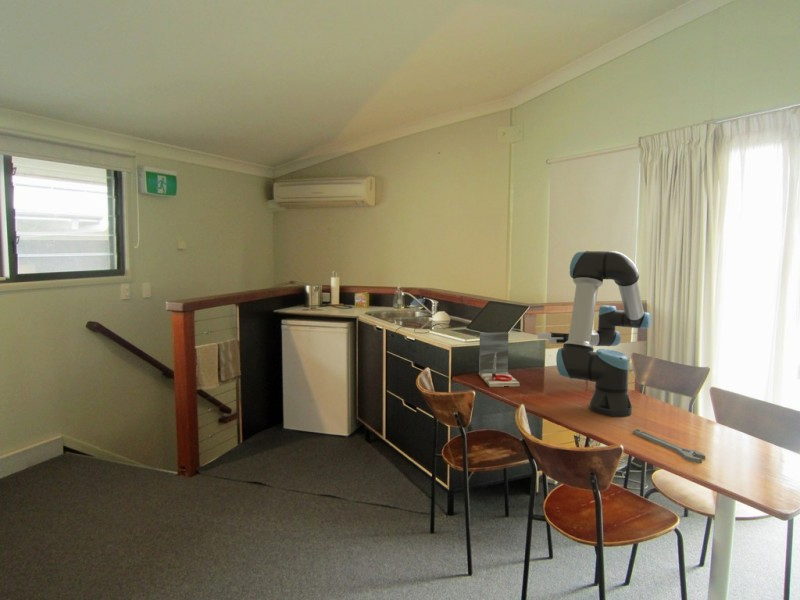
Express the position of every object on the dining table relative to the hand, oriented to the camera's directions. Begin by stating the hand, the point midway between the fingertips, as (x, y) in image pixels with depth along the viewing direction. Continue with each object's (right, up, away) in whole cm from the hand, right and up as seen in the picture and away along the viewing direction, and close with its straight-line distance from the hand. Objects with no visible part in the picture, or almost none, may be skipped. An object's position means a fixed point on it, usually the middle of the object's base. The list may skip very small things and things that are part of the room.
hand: (543, 338), depth 222 cm
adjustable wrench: (+18, -29, -72) cm, 79 cm away
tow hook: (-19, -20, +2) cm, 28 cm away
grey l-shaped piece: (-20, -21, +6) cm, 29 cm away
